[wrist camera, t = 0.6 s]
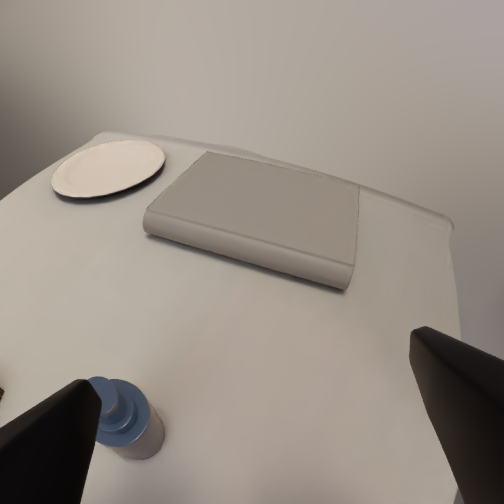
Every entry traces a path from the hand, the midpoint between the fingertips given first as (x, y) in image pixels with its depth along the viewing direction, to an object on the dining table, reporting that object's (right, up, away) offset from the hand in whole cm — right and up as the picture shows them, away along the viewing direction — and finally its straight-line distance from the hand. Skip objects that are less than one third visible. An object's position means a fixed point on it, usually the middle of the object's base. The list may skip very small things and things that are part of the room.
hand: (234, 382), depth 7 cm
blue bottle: (-9, -11, +12) cm, 19 cm away
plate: (-24, +17, +41) cm, 50 cm away
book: (+2, +7, +33) cm, 34 cm away
